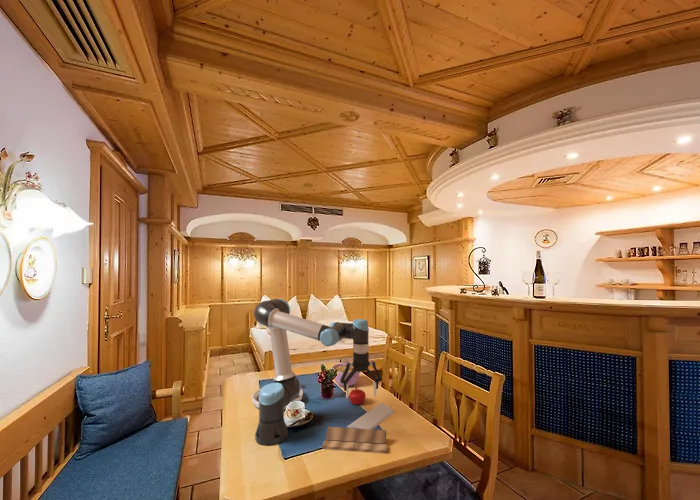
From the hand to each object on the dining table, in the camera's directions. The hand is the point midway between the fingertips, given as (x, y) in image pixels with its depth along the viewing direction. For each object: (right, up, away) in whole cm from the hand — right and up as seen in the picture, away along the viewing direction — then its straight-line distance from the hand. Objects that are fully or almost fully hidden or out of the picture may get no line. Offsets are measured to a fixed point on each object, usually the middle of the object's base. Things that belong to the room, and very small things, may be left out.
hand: (361, 396), depth 152 cm
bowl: (-49, -22, +39) cm, 66 cm away
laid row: (-3, -19, -10) cm, 21 cm away
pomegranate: (-1, -21, +37) cm, 42 cm away
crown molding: (+6, -21, +17) cm, 27 cm away
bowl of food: (-8, -22, +65) cm, 69 cm away
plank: (-2, -17, -4) cm, 17 cm away
